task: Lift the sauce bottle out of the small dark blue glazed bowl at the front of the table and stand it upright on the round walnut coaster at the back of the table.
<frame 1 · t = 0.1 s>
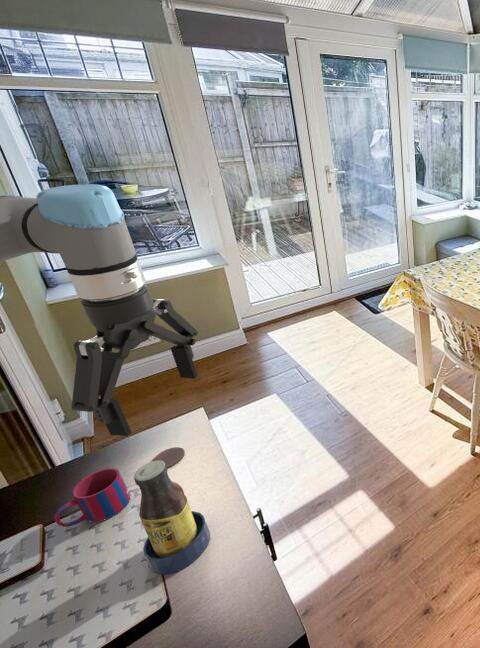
hand: (158, 402, 70), 29 cm above the table, tool pointing down, fingers open, 13 cm apart
sauce bottle: (181, 547, 75), resting on bowl
mug: (98, 513, 81), on the table
coaster: (168, 458, 93), on the table
bowl: (181, 548, 75), on the table
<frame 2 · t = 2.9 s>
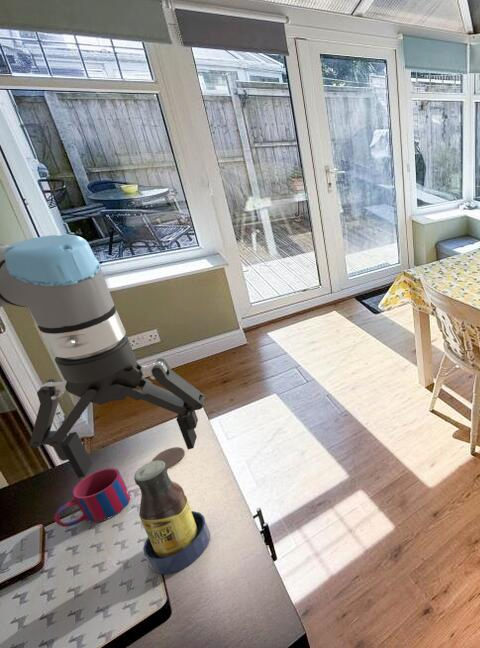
hand: (141, 456, 66), 23 cm above the table, tool pointing down, fingers open, 13 cm apart
nothing on the table moved.
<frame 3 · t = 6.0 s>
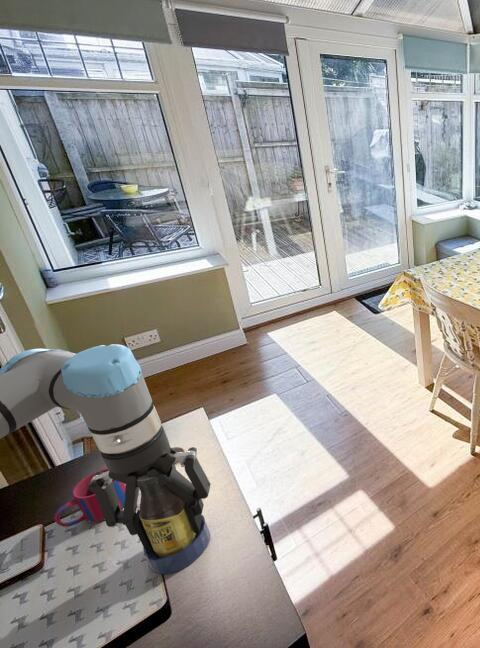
hand: (174, 533, 74), 4 cm above the table, tool pointing down, fingers closed on sauce bottle, 6 cm apart
sauce bottle: (181, 547, 75), resting on bowl, touching gripper
everything else where it was.
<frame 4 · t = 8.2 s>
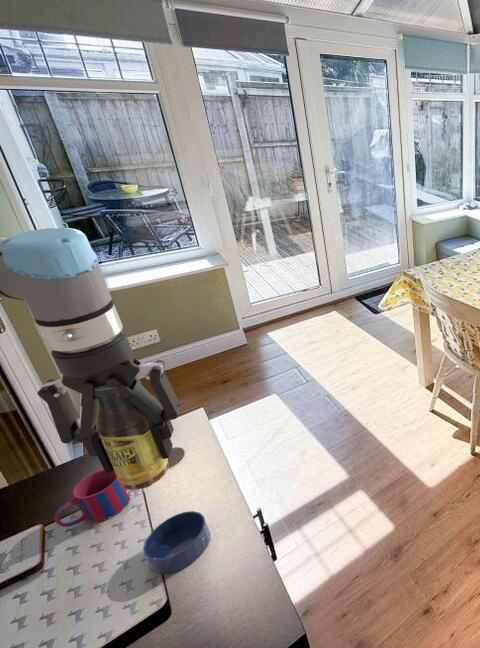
hand: (140, 458, 66), 22 cm above the table, tool pointing down, fingers closed on sauce bottle, 6 cm apart
sauce bottle: (148, 477, 68), point 18 cm above the table, touching gripper
everything else where it was.
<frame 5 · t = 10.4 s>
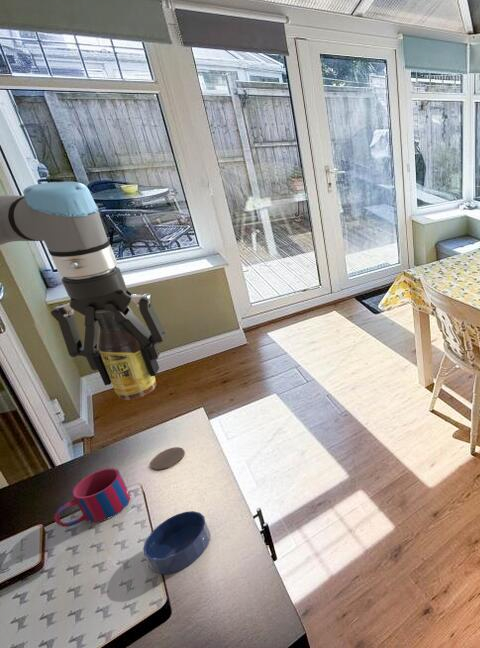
hand: (133, 376, 82), 24 cm above the table, tool pointing down, fingers closed on sauce bottle, 6 cm apart
sauce bottle: (139, 392, 84), point 20 cm above the table, touching gripper
everything else where it was.
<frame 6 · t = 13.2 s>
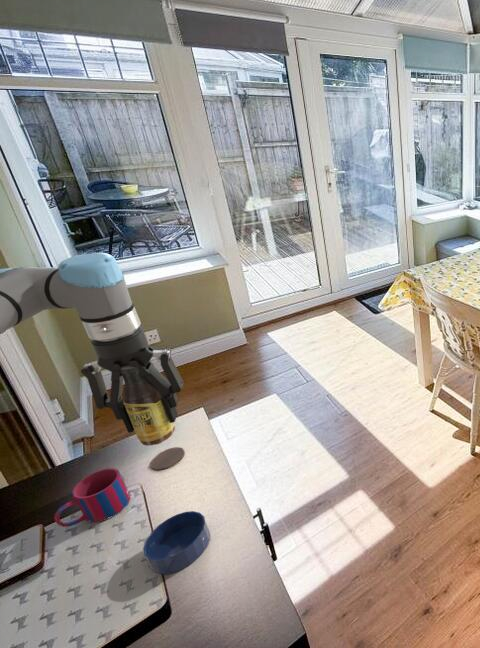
hand: (153, 422, 88), 11 cm above the table, tool pointing down, fingers closed on sauce bottle, 6 cm apart
sauce bottle: (159, 437, 90), point 7 cm above the table, touching gripper
everything else where it was.
when the fingers open (4 cm above the table, at t = 15.1 s): sauce bottle stays where it is, resting on coaster.
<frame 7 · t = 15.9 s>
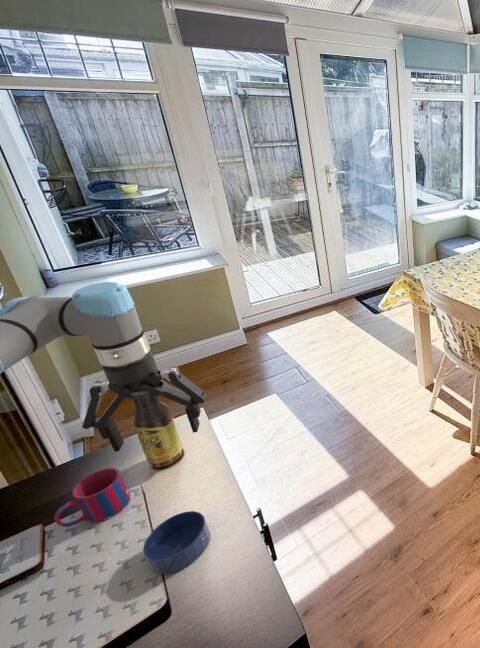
hand: (159, 437, 90), 7 cm above the table, tool pointing down, fingers open, 13 cm apart
sauce bottle: (168, 458, 93), resting on coaster
everything else where it was.
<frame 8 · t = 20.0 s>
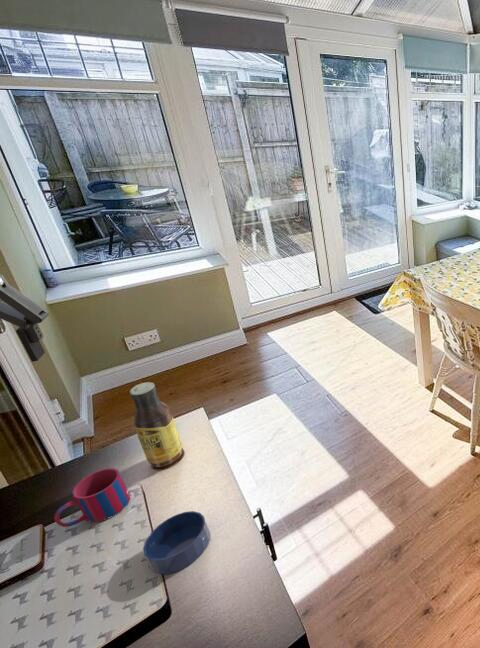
nothing on the table moved.
at the end: sauce bottle 0.0 cm off-centre on the coaster, point 0.1 cm above the coaster's base; sauce bottle tilted 0°; the gripper is holding nothing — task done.
